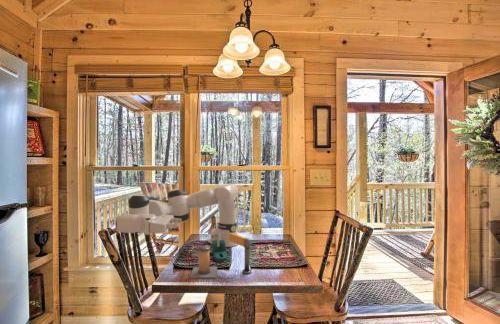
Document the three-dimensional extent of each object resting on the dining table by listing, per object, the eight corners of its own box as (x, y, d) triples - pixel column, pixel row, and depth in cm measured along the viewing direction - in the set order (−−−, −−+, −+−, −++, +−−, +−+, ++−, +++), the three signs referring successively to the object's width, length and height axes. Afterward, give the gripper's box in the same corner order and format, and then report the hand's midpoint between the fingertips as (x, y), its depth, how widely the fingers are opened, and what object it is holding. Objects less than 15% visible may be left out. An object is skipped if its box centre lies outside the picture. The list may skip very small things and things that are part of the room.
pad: (190, 278, 132) (190, 277, 132) (193, 268, 144) (193, 267, 144) (215, 278, 133) (215, 276, 133) (217, 267, 145) (217, 266, 145)
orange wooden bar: (251, 247, 140) (251, 239, 139) (246, 248, 137) (246, 240, 137) (232, 239, 151) (232, 232, 151) (227, 241, 149) (228, 233, 149)
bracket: (211, 252, 169) (212, 239, 169) (223, 251, 171) (223, 238, 171) (216, 263, 152) (216, 248, 152) (228, 261, 154) (228, 247, 154)
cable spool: (195, 271, 139) (195, 247, 138) (205, 268, 143) (205, 244, 142) (202, 275, 134) (202, 250, 134) (212, 271, 139) (212, 247, 138)
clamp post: (240, 272, 140) (240, 247, 140) (247, 269, 143) (247, 245, 143) (246, 274, 137) (246, 249, 137) (253, 272, 140) (253, 247, 140)
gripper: (156, 224, 146) (183, 223, 147) (144, 235, 126) (175, 235, 127) (156, 212, 146) (183, 211, 147) (143, 221, 126) (175, 221, 127)
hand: (179, 222), depth 137 cm, fingers open, 8 cm apart
